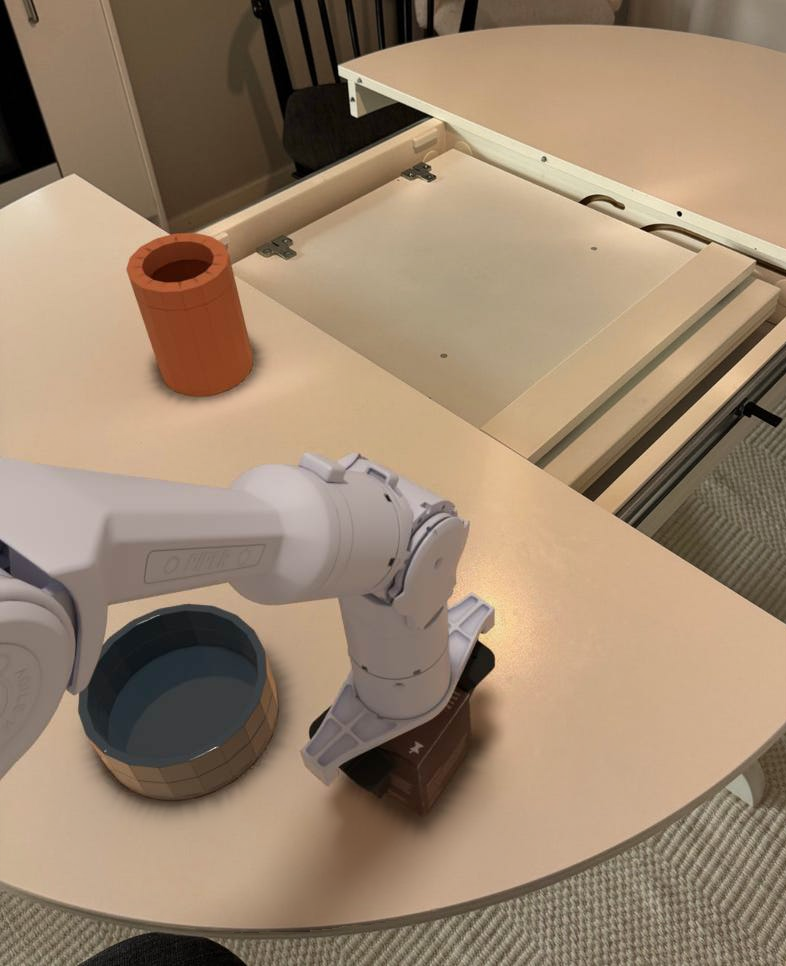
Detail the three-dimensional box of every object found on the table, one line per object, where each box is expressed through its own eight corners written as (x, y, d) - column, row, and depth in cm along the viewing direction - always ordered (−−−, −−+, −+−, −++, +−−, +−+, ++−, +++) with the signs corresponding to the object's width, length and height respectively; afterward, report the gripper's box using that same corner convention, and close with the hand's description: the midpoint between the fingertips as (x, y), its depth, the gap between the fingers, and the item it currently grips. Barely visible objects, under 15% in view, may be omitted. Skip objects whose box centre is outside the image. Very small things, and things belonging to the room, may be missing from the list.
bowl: (172, 838, 62) (151, 805, 58) (66, 723, 67) (41, 687, 63) (313, 709, 68) (304, 672, 64) (206, 614, 73) (191, 575, 69)
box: (474, 747, 66) (473, 693, 60) (424, 820, 62) (418, 770, 57) (402, 704, 68) (394, 649, 62) (349, 772, 65) (337, 720, 59)
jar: (199, 409, 88) (166, 304, 79) (143, 368, 92) (107, 263, 83) (271, 363, 92) (248, 258, 83) (215, 325, 96) (187, 221, 87)
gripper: (434, 523, 59) (441, 642, 69) (250, 679, 52) (288, 787, 62) (522, 584, 56) (516, 700, 66) (340, 759, 49) (364, 859, 59)
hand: (411, 746), depth 64 cm, fingers closed on box, 6 cm apart
